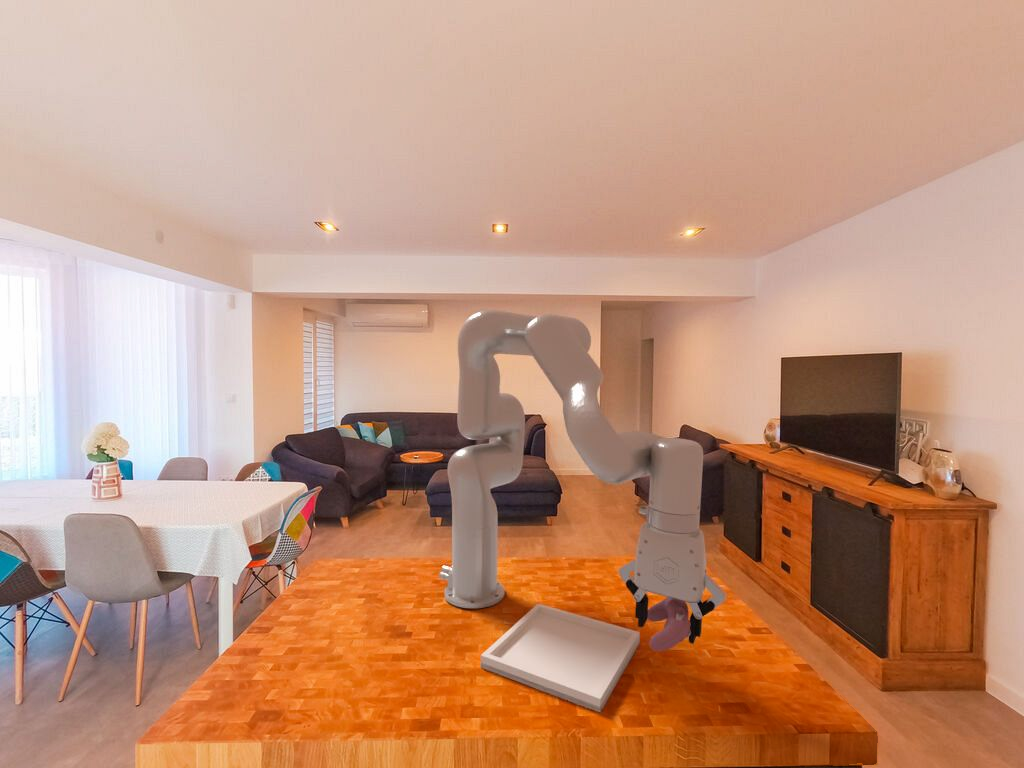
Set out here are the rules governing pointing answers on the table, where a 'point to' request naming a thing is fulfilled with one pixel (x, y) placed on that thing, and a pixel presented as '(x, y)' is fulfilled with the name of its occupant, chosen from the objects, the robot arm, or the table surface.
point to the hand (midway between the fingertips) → (667, 630)
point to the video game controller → (669, 623)
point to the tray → (564, 655)
